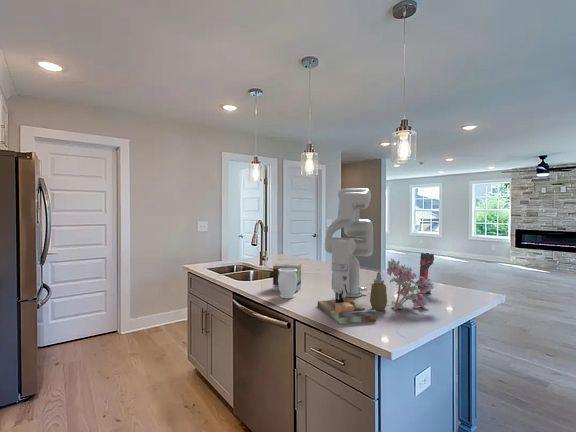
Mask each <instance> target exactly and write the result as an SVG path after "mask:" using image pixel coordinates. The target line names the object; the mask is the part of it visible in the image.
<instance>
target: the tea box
mask: <svg viewBox="0 0 576 432" xmlns="http://www.w3.org/2000/svg"><path fill="white" fill-rule="evenodd" d="M280 268H295V269H297V272H296V274H297V286H296V291H295V293H297V292H299V291H300V290H301V289H302V288H301V287H302V264H300V263H299V264H298V263H295V264H294V263H276V264H275V265H273V266H272V273H273V274H272V289H273V291H279V292H280V290H279V284H278V276H279V271H278V269H280Z"/></svg>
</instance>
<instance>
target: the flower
mask: <svg viewBox="0 0 576 432" xmlns="http://www.w3.org/2000/svg"><path fill="white" fill-rule="evenodd" d="M386 271H387V272H386V273H387V275H389V276H390V277H391V276H392V274H393V275H394V277H391V278H390V279H389V284H391V282H392V283H393V282H395V283H396V284H395V286H398V289H397V292H396V294H397V298H396V301H394V300H391V306H392V307H393V309H392V311H396V310H397V309H401V310H403V308H404V305H403V304H405V303H406V302H407V300H410V301H411V302H412V303H413V304H412V305H413V306H414V307H417V308H418V307H421V308H422V309H424V308H425V307H426V306H428V299H426V298H425V296H424V294H427V293H426V292H427V291H432V290H433V289H435V287H434V286H435V284H434V282H433V281H431V280H432V279H431V278H428V279H427V280H425V278H424V277H420V276H419V277H418V279H417V280H416V281H414V279H415V278H417V274H416V272H412V271H413V269H412V268H411V266H407V267H406V265H405V264H403V265H400V260H399V259H398V260H397V261H396V260H395V258H392V257H390V259H389V260H388V261H387V268H386ZM419 279H421V280H422V281H420V280H419ZM412 284H414V285H412ZM418 286H420V287H422V288H421V289H418ZM401 287H402V288H401ZM415 291H416V292H417V293H415ZM410 292H411V293H410ZM409 293H410V294H409ZM400 295H401V296H403V297H402V298H401V299H400Z"/></svg>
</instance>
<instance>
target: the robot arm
mask: <svg viewBox="0 0 576 432" xmlns="http://www.w3.org/2000/svg"><path fill="white" fill-rule="evenodd" d="M337 196H338V200H339V201H338V208H337V209H338V211H337V218H336V219H335V220H334V221H333V222H332V223H330V225H329V226H328V228H327V230H326V233H325V239H324V250H325V251H326V252H327V253H328V254H331V271H332V273H331V290H332V291H333V292H334V296H335V297H334V298H335V300H336V303H344V299H345V298H346V297H347V298H359V297H362V295H363V293H362V292H367V291H368V288H367V286H365V287H363V286H360V266H361V265H360V261H359V259H358V258H357V257H370V256H373V252H374V225H373V224H374V223H373V222H372V220H370V219H365V218H363V219H361V218H360V210H364V209H367V208H368V207H369V206H370V202H371V199H372V193H371V190H370V189H369V188H365V187H363V188H361V187H358V188H357V187H356V188H355V187H353V188H351V187H347V188H341V189H339V190H338V193H337ZM341 229H343V232H344V234H345V235H346V236H348V237H334V236H333V235H334V234H335V233H336V232H337V231H339V230H341ZM350 237H353V238H350ZM354 237H362V238H354Z"/></svg>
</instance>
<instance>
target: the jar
mask: <svg viewBox="0 0 576 432" xmlns="http://www.w3.org/2000/svg"><path fill="white" fill-rule="evenodd" d="M278 271H279V276H278V284H279V290H280V291H279V290H278V291H279V293H280V294H279V297H280V298H282V299H294V298H295V297H296V294H295V293H296V292H295V291H296V286H297V274H296V272H297V269H295V268H280V269H278Z"/></svg>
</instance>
